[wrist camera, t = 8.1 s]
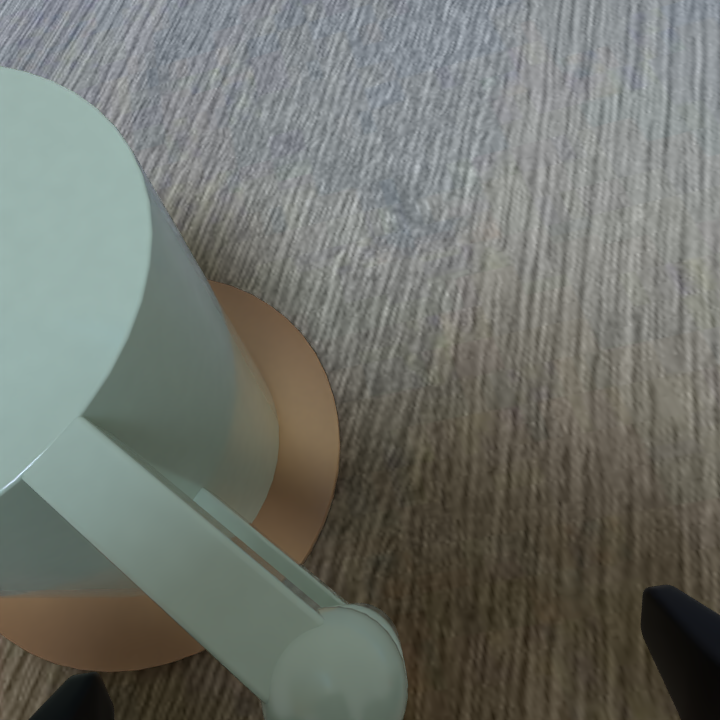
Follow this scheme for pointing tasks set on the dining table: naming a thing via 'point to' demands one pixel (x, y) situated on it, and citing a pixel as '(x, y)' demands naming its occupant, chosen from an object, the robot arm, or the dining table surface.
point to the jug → (150, 426)
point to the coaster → (275, 519)
